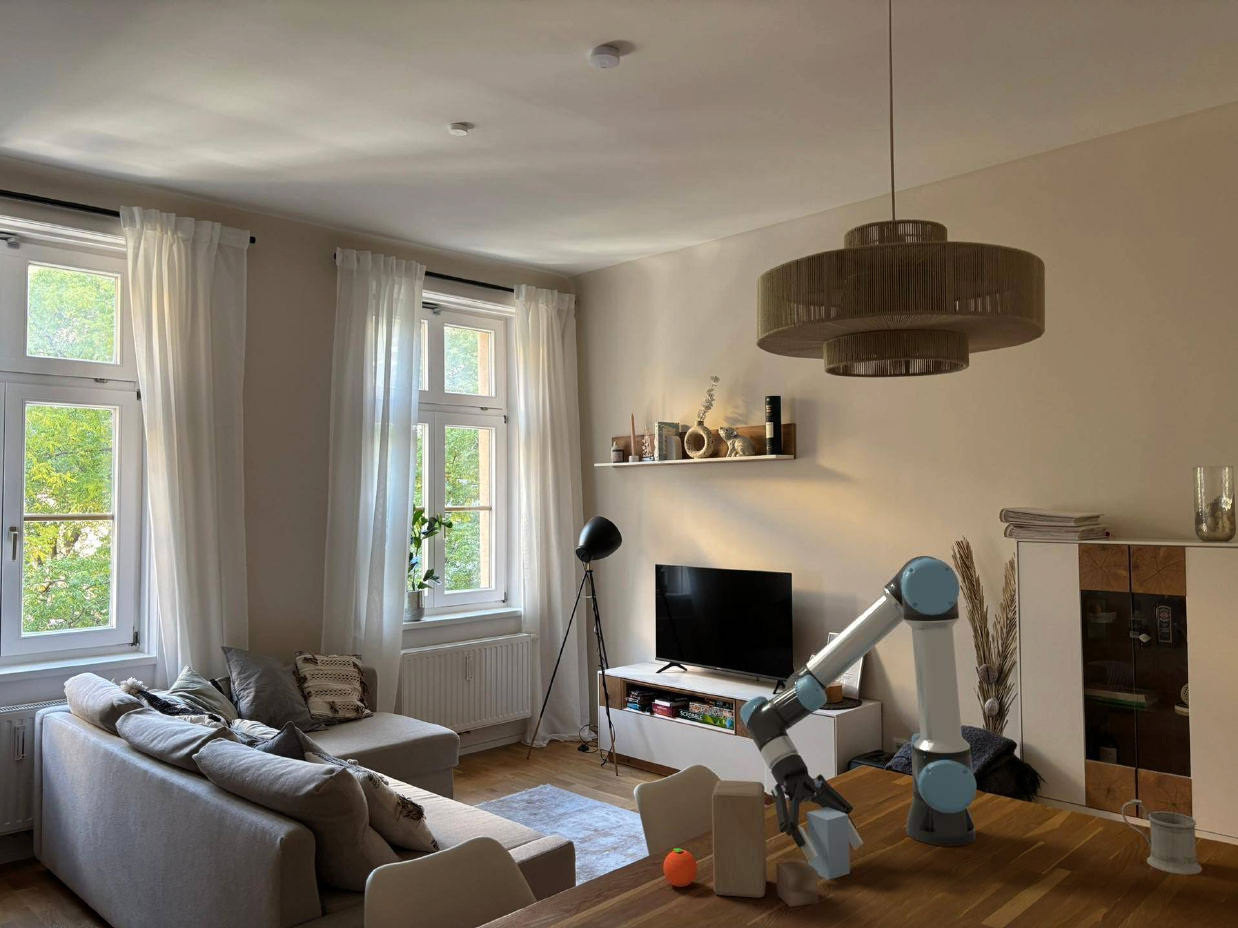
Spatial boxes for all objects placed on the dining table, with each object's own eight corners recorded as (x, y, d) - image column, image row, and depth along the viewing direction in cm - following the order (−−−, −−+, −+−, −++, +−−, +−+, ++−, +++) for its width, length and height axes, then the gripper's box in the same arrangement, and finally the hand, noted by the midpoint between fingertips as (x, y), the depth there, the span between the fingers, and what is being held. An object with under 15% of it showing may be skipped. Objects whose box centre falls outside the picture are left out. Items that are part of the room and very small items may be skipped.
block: (764, 899, 176) (762, 795, 177) (713, 896, 178) (711, 793, 179) (766, 879, 186) (764, 780, 187) (718, 876, 188) (716, 778, 189)
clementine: (655, 879, 186) (655, 844, 187) (686, 874, 189) (685, 839, 189) (672, 894, 179) (671, 858, 179) (703, 888, 182) (702, 852, 182)
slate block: (828, 863, 193) (827, 806, 194) (849, 872, 188) (848, 814, 189) (808, 870, 190) (806, 812, 191) (829, 879, 185) (827, 819, 186)
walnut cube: (804, 890, 180) (804, 859, 181) (818, 902, 174) (817, 871, 175) (776, 893, 179) (776, 863, 179) (789, 906, 173) (789, 874, 173)
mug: (1206, 863, 190) (1203, 805, 191) (1196, 878, 183) (1193, 817, 184) (1129, 847, 200) (1127, 792, 201) (1117, 860, 193) (1114, 803, 193)
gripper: (816, 762, 210) (868, 849, 196) (734, 780, 197) (784, 875, 183) (832, 744, 205) (887, 831, 192) (750, 761, 192) (802, 856, 179)
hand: (837, 853), depth 187 cm, fingers open, 12 cm apart
